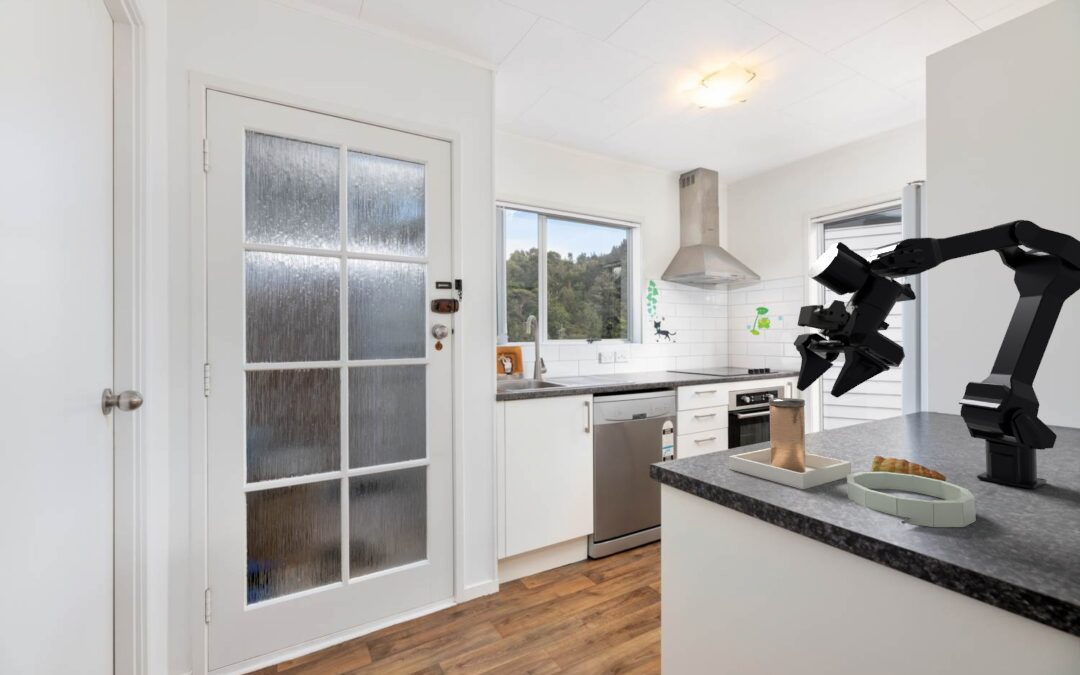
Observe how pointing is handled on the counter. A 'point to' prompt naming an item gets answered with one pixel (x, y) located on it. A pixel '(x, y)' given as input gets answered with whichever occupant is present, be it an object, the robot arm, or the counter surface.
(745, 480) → the counter surface
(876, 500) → the bowl
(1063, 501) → the counter surface
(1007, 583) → the counter surface
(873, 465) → the pastry
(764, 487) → the counter surface
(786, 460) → the canister
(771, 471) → the tray
